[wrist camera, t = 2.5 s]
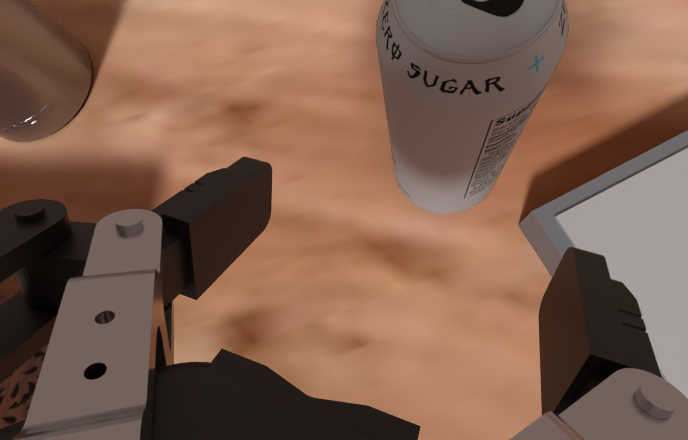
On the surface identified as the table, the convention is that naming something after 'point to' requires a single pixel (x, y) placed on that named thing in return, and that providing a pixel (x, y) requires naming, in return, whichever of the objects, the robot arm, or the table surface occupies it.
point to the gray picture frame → (633, 241)
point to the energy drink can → (462, 89)
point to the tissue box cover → (19, 382)
